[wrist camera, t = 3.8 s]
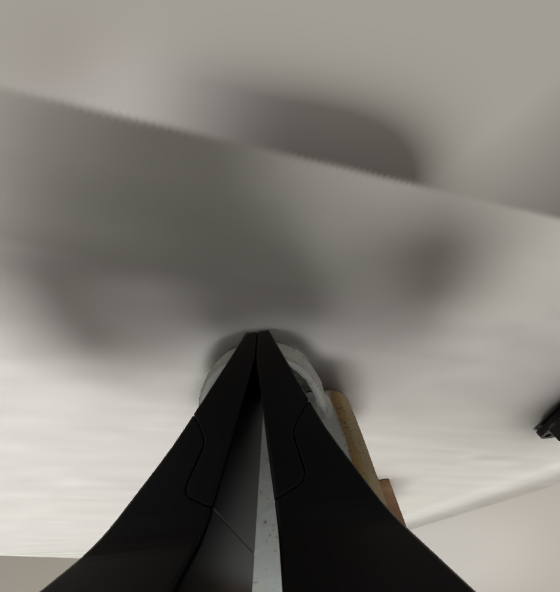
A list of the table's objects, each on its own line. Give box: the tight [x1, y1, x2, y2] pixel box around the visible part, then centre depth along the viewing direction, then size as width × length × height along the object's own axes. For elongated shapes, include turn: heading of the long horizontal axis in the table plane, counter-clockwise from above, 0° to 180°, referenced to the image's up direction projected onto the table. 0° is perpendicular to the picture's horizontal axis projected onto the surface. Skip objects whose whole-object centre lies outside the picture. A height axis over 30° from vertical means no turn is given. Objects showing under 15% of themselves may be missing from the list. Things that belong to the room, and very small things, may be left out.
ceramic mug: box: [199, 343, 388, 592], centre depth 11 cm, size 11×8×8 cm
